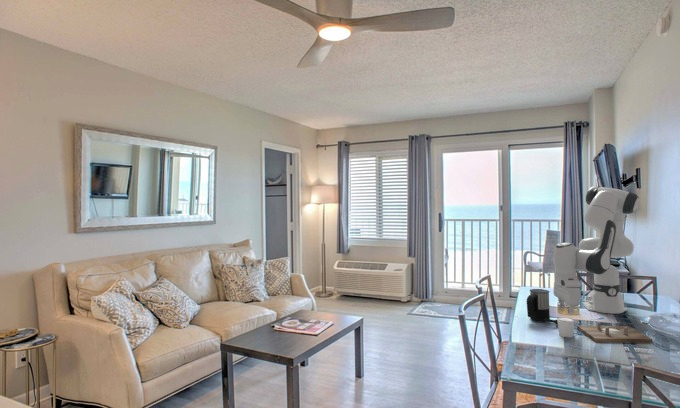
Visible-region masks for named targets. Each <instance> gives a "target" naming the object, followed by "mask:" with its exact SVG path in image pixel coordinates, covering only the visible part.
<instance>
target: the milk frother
mask: <svg viewBox="0 0 680 408" xmlns="http://www.w3.org/2000/svg"><path fill="white" fill-rule="evenodd" d="M529 293H530V294H529V295H528V296H527V298H526V310H527V317H528V318H529V319H530V320H531V321H534V322H537V323H538V322H539V323H554V324H555V325H556V326H558V322H557V319H551V316H550V290H547V289H544V288H543V289H542V288H532V289H529Z"/></svg>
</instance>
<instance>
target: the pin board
mask: <svg viewBox="0 0 680 408" xmlns="http://www.w3.org/2000/svg"><path fill="white" fill-rule="evenodd" d="M576 330H578V331H579V332H581V333H582V334H583V335H584V336H586V337H587V338H589V339H590V340H591V341H592V342H594V343H626V344H627V343H632V344H633V343H634V344H638V343H641V344H643V343H644V344H652V343H653V339H652V337H649V336H647V335H646V334H644V333H642V332H640V331H639V330H637V329H635V328H634V327H632V326H629V325H620V322H617V321H616V322H615V323H614V325H602V322H599V321H597V325H576Z"/></svg>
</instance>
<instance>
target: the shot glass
mask: <svg viewBox="0 0 680 408" xmlns="http://www.w3.org/2000/svg"><path fill="white" fill-rule="evenodd" d="M556 320H557V322H558V325H557V327H558V335H559V336H561V337H564V338H573V337H574V334H575V333H574V331H575V319H573V318H571V317H570V318H569V317H557V318H556Z"/></svg>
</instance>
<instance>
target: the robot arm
mask: <svg viewBox="0 0 680 408" xmlns="http://www.w3.org/2000/svg"><path fill="white" fill-rule="evenodd" d="M639 199H640V197H639V196H638V194H637V193H634V192H632V191H626V190H623V189H619V188H612V187H605V186H600V185H593V186H591V187H590V188H589V189H588V190H587V191H586V194H585V202H586V204H587V205H588V207H587V209H586V211H585V213H584V221H585V224H586V225H587V226H588V227H589V228H591V229H592V230H594V231H595V232H597V233H600V235H599V237H587V238H582V239H581V240H580V242H579V243H578V247H577V246H575V245H574V243H572V242H560V243H556V244H555V245H554V247H553V248H554V249H553V265H554V270H553V278H554V280H553V281H554V282H553V295H554V296H555V297H556V298H557V301H558V303H559V308H560V309H563V310H564V309H566V304H565V303H567V304H568V309H567V311H568V314H569V315H573V314H575V307H576V306H580V304H581V295H582V294H581V293H582V292H581V287H582V281H580V280H579V277H578V273H577V271H579V272H585V273H586V272H587V273H591V274H593V277H594V278H593V279H594V281H593V282H594V283H593V284H592V290H591V291H590V292H589V293H588V294H587V295H586V296H585V299H586V301H584V302H583V301H582V305H583V306H584V307H585V308H586V309H587V311H590V312H591V311H592V312H597V313H602V314H612V315H613V314H623V313H624V312H627V311H628V308H627V307H625V301H624V295H623V294H622V293H621V284H620V275H619V270H618V268H617V267H616V266H614V265H612V264H611V260H612V259H615V258H616V259H617V258H619V259H621V258H625V257H630V256H631V255H632V254H633V252H634V243H633V241H632V240H631V239H629V238H628V237H627V236H626V235H625V234H624V226H625V225H624V224H625V218H626V215H629V214H632V213H635V211H637V209H638V207H639V204H640V200H639Z"/></svg>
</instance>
